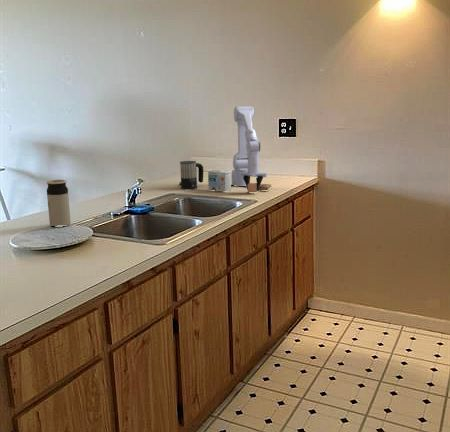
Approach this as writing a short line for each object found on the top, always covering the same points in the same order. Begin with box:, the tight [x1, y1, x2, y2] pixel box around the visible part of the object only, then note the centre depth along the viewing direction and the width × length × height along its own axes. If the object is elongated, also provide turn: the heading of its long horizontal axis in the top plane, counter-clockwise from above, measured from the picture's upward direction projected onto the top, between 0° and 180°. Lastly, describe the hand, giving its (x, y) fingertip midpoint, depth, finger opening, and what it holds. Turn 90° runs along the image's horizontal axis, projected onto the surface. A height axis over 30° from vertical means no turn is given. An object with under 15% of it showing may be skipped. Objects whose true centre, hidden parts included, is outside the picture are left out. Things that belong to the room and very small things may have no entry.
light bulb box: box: [207, 169, 232, 192], centre depth 276 cm, size 11×7×11 cm, turn 62°
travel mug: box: [46, 179, 72, 227], centre depth 205 cm, size 8×8×18 cm
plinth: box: [259, 183, 272, 190], centre depth 278 cm, size 8×8×2 cm
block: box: [247, 182, 257, 193], centre depth 269 cm, size 4×4×5 cm
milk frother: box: [178, 160, 204, 190], centre depth 287 cm, size 14×16×15 cm
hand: (253, 190), depth 269 cm, fingers closed on block, 4 cm apart
